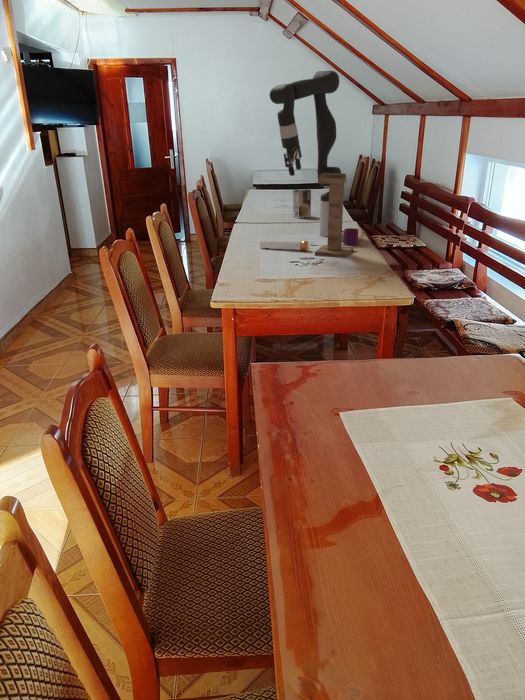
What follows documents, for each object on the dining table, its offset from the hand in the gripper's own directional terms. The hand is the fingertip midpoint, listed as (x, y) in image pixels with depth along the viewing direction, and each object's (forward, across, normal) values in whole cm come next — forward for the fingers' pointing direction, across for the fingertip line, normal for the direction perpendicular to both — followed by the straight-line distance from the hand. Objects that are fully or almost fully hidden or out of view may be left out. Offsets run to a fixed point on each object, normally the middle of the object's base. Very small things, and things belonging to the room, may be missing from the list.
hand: (295, 172), depth 241 cm
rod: (+30, -17, +5) cm, 35 cm away
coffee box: (+47, +66, +29) cm, 86 cm away
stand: (+32, -16, -19) cm, 41 cm away
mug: (+37, +3, -18) cm, 42 cm away
